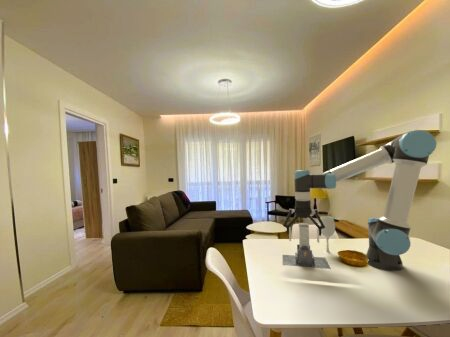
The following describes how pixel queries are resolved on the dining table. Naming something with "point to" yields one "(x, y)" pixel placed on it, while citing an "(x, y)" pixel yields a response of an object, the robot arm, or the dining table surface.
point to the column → (303, 235)
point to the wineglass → (327, 229)
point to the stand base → (305, 259)
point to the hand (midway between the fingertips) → (303, 241)
